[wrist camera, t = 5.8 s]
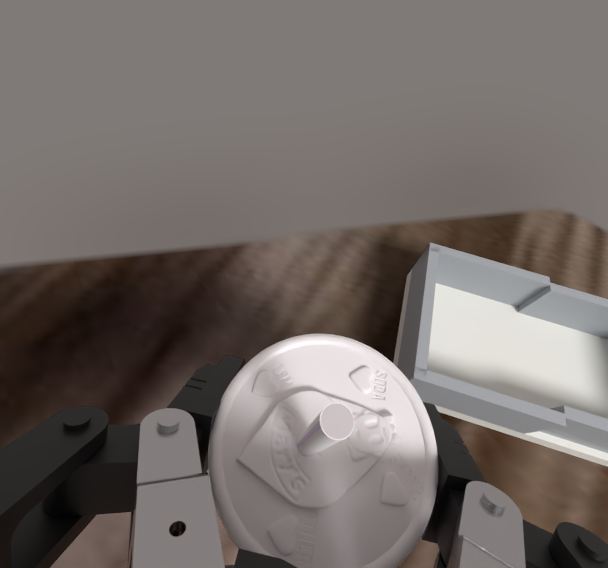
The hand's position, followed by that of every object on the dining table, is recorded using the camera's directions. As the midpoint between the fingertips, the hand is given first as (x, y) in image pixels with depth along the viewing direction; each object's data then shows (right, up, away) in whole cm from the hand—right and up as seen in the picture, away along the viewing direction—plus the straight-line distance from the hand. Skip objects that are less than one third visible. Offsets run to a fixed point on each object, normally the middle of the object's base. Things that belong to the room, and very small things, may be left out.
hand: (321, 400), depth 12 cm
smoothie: (-1, -5, +5) cm, 7 cm away
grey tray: (+13, -1, +9) cm, 16 cm away
